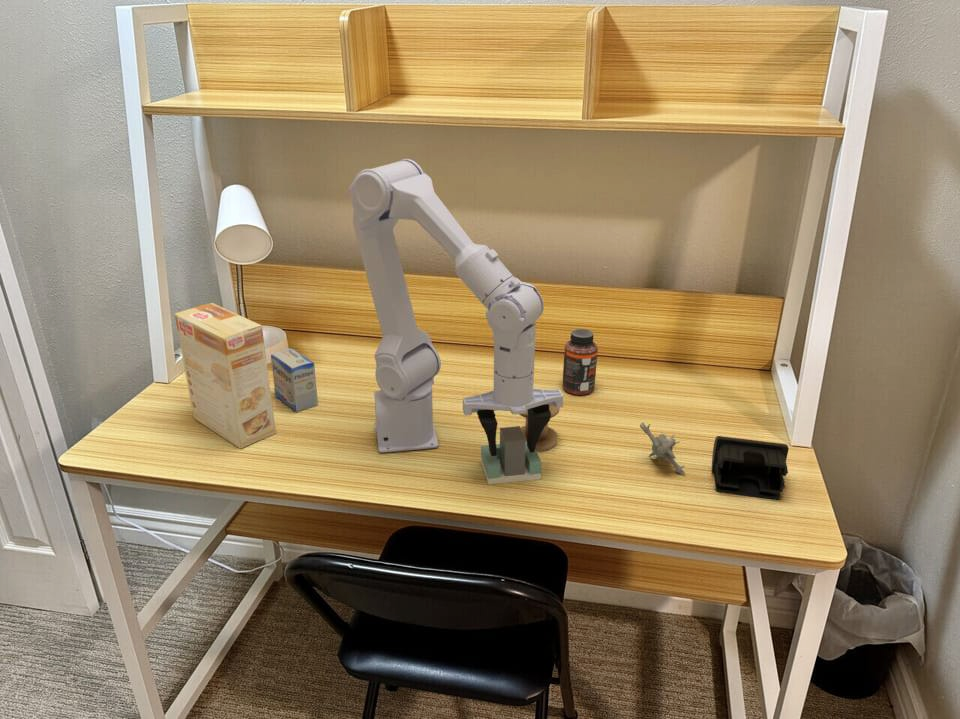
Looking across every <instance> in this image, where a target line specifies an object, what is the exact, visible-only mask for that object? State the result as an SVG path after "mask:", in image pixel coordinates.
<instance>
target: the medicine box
mask: <svg viewBox="0 0 960 719" xmlns="http://www.w3.org/2000/svg"><path fill="white" fill-rule="evenodd" d="M270 361H271V362H270V363H271V368H272V379H273V387H274V388H273V389H274V397H276V399H278V400H279V401H280V402H282V403H284V404H285V405H287V406H288V407H289V408H290V409H292V410H293V411H295V412H296V413H299V412H302V411H305V410H308V408H309V409H311V408H314V407H316V406H318V405H319V400H318V397H319V396H318V388H317V378H316V369H315V368H316V367H315V362H314V361H312V360H311V359H309V358H307V357H306V356H305V355H303V354H301V353H300V352H298V351H297V350H295V349H294V348H292V347H291V348H286V349H283V350H279V351H276V352H274V353H271V354H270Z"/></svg>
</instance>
